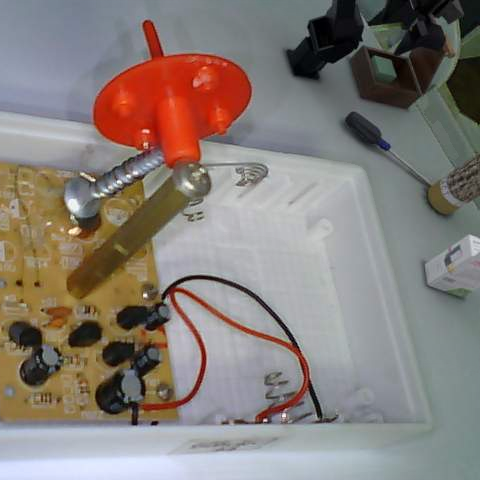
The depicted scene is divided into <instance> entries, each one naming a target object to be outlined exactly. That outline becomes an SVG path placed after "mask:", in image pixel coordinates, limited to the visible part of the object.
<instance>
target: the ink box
mask: <svg viewBox="0 0 480 480" xmlns="http://www.w3.org/2000/svg"><path fill="white" fill-rule="evenodd" d="M424 271H425V278H426V282H427V286H429V287H431V288H433V289H436V290H439V291H442V292H446V293H448V294H451V295H453V296H457V297H459V298H464V297H466V296H468V295H470V294H471V293H473V292H474V291H476V290H478V289H479V288H480V238H479V237H477V236H474V235H472V234H468V235H466V236H464V237H462V238H461V239H460V240H459V241H457V242H455V243H454V244H453V245H451V246H450V247H448V248H447V249H445V250H443V251H442V252H441V253H439V254H438V255H436V256H434V257H433V258H431V259H430V260H429V261H428V262H426V263H425V264H424Z"/></svg>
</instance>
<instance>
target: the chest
mask: <svg viewBox="0 0 480 480" xmlns="http://www.w3.org/2000/svg"><path fill="white" fill-rule="evenodd" d="M393 53H394V52H392V51H388V50H383V49H379V48H376V47H372V46H369V45H364V44H362V46H361V47H359V49H358V50H357V51H356V52H355V53H354V54H353V55H352V56H351V57H350V58H349V63H350V66H351V69H352V70H351V71H352V73H353V77H354V80H355V83H356V87H357V89H358V92H359V93H358V94H359V96H360V99H362V100H366V101H371V102H375V103H379V104H383V105H387V106H392V107H396V108H400V109H404V110H408V109H409V108H410V107H411V106H412V105H413V104H414V103H416V102H417V101H418V100H419V99H420V98H421V97H422V96H423V94H422V93H421V90H420V87H419V85H418V82H417V79H416V76H415V73H414V70H413V67H412V65H411V62H410V59H409V56H405V55H403V54H402V55H399V56H395V55H394V54H393ZM373 56H378V57H382V58H386V59H390V60H391V61H392V64H393V67H394V70H395V73H396V76H397V77H396V78H395V79H394V80H393V81H392V82H391V83H390V84H389V85H388V84H384V83H380V82H377V78H376V75H375V72H374V69H373V66H372V63H371V60H370V59H371V58H372V57H373Z"/></svg>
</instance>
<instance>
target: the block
mask: <svg viewBox="0 0 480 480" xmlns="http://www.w3.org/2000/svg"><path fill="white" fill-rule="evenodd" d="M370 60H371V63H372V66H373V69H374V72H375V75H376V78H377V82H380V83H384V84H388V85H389V84H390V83H391V82H392V81H393V80H394V79H395V78H396V77H397V76H396V73H395V70H394V67H393V64H392V61H391V60H390V59H386V58H382V57H378V56H373V57H372V58H371V59H370Z"/></svg>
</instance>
